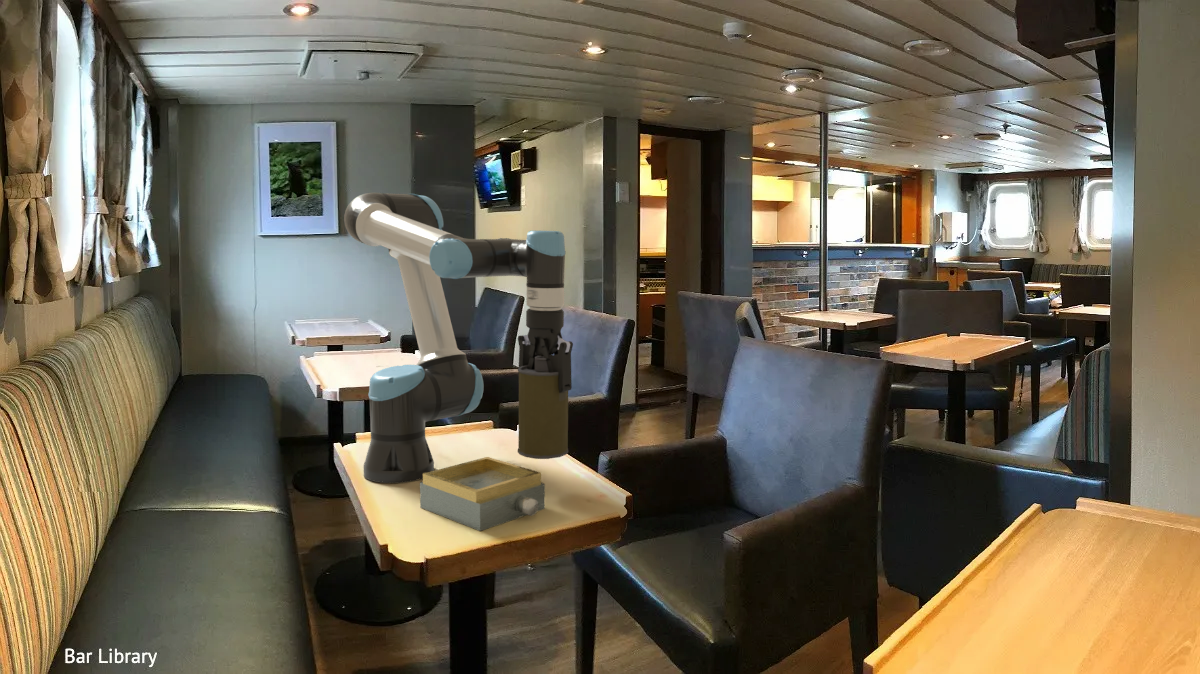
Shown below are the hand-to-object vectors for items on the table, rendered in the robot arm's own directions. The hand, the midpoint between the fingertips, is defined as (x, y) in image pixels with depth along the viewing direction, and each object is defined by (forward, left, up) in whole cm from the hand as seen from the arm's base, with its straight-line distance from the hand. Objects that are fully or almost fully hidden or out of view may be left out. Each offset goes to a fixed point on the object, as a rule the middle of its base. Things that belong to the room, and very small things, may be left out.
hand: (543, 421), depth 162 cm
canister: (0, 0, -7) cm, 7 cm away
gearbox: (0, -15, -15) cm, 21 cm away
